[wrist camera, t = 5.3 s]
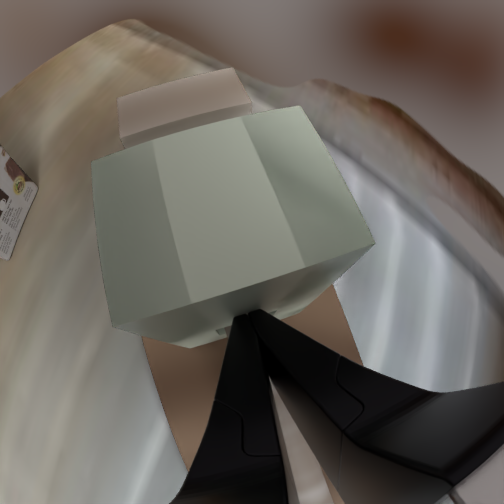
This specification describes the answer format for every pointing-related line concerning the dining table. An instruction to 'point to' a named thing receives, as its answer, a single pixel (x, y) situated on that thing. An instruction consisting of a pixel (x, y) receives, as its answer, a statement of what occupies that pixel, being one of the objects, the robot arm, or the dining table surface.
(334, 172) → the sleeve
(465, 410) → the robot arm
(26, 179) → the coffee box
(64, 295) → the dining table surface
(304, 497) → the rod stand
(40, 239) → the dining table surface
